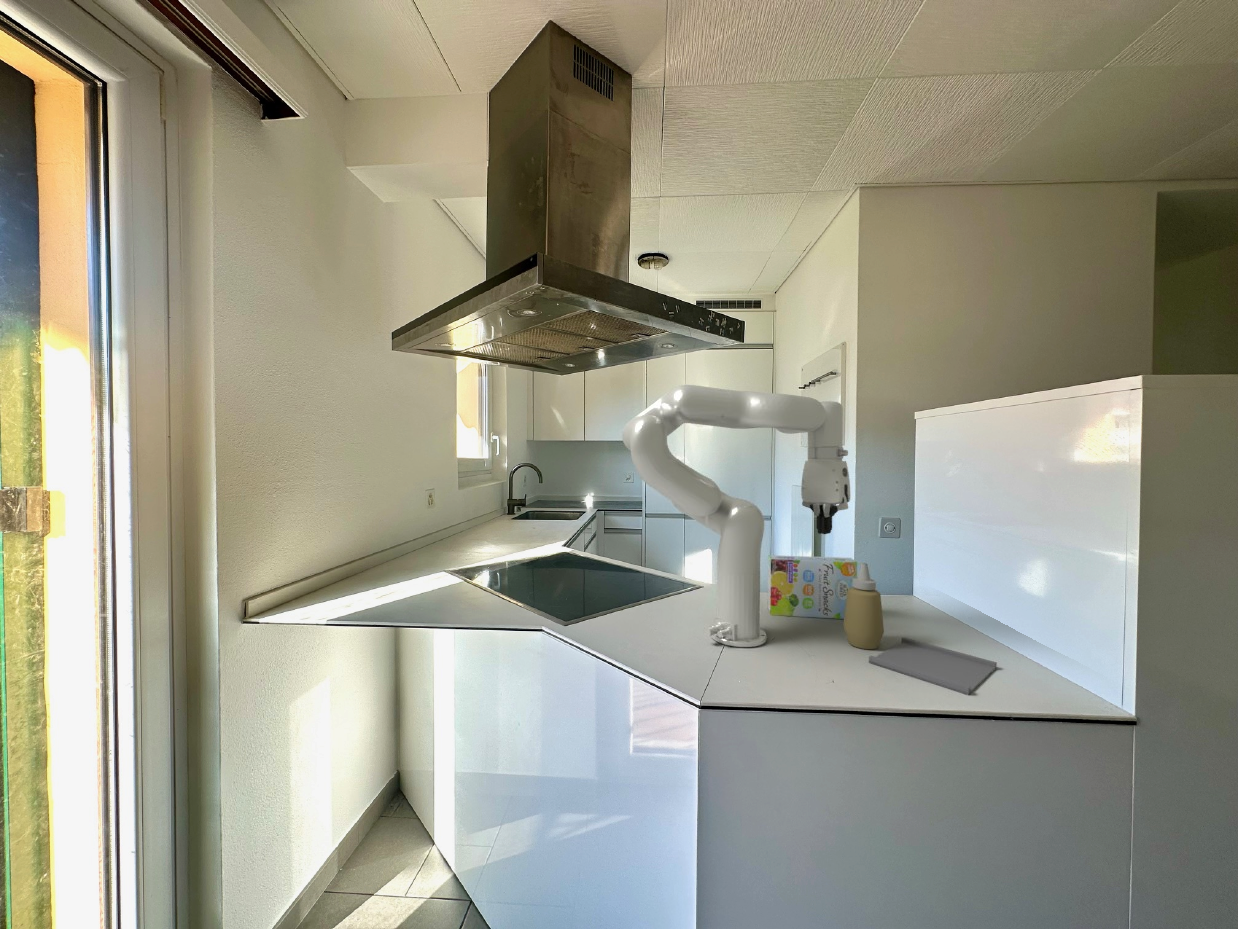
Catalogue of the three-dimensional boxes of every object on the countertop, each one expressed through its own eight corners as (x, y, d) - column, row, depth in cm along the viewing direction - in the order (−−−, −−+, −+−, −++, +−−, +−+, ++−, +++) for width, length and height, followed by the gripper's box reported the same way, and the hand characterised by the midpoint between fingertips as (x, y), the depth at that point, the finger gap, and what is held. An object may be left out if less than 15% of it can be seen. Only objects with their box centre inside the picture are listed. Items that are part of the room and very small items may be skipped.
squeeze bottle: (837, 637, 113) (838, 559, 112) (874, 638, 112) (875, 560, 111) (850, 651, 105) (851, 567, 104) (890, 653, 104) (891, 568, 103)
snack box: (850, 614, 129) (851, 557, 129) (857, 621, 124) (858, 561, 124) (767, 609, 133) (767, 553, 133) (769, 615, 128) (770, 558, 127)
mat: (968, 695, 86) (968, 688, 86) (868, 662, 99) (868, 656, 99) (996, 668, 97) (996, 662, 97) (903, 642, 110) (903, 637, 110)
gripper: (864, 455, 111) (864, 535, 112) (803, 454, 123) (803, 528, 123) (848, 455, 106) (848, 539, 107) (787, 455, 118) (786, 531, 118)
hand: (824, 533), depth 115 cm, fingers closed
